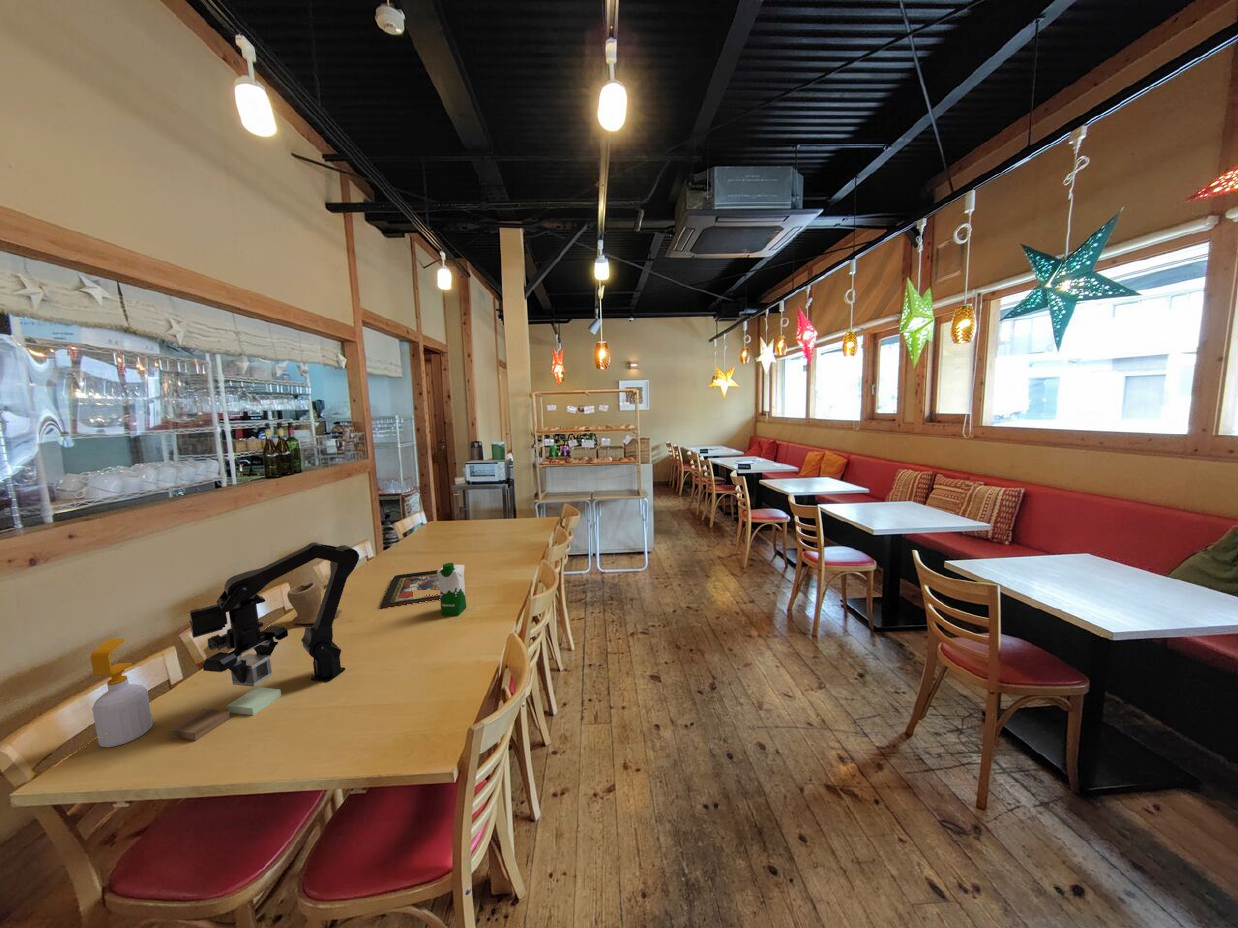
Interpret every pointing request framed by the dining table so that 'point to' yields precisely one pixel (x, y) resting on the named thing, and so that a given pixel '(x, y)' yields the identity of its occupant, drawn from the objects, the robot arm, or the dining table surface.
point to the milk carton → (452, 589)
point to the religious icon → (410, 588)
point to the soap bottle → (118, 701)
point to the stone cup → (306, 602)
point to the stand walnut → (199, 724)
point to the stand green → (254, 701)
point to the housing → (255, 670)
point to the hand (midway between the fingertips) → (252, 676)
